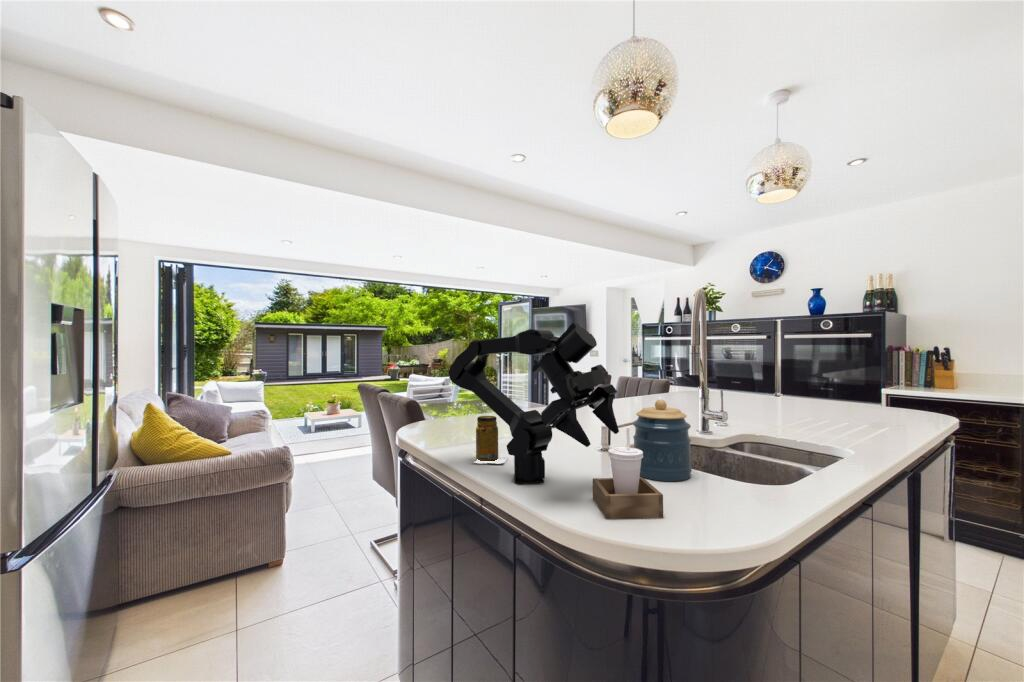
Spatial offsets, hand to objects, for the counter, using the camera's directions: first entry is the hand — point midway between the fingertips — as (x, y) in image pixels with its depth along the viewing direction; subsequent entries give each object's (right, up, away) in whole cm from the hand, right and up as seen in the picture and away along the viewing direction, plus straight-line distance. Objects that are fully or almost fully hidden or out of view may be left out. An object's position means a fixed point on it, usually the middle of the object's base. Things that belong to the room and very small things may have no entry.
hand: (603, 439), depth 82 cm
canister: (+17, -12, +16) cm, 26 cm away
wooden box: (+3, -12, -5) cm, 13 cm away
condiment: (-24, -13, +29) cm, 40 cm away
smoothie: (+3, -11, -5) cm, 12 cm away
